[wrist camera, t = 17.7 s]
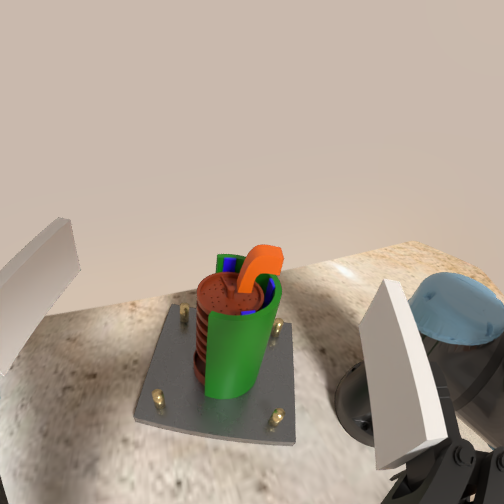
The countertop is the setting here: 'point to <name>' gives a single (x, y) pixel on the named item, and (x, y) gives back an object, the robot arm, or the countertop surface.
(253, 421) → the plate
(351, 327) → the countertop surface
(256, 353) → the motor
